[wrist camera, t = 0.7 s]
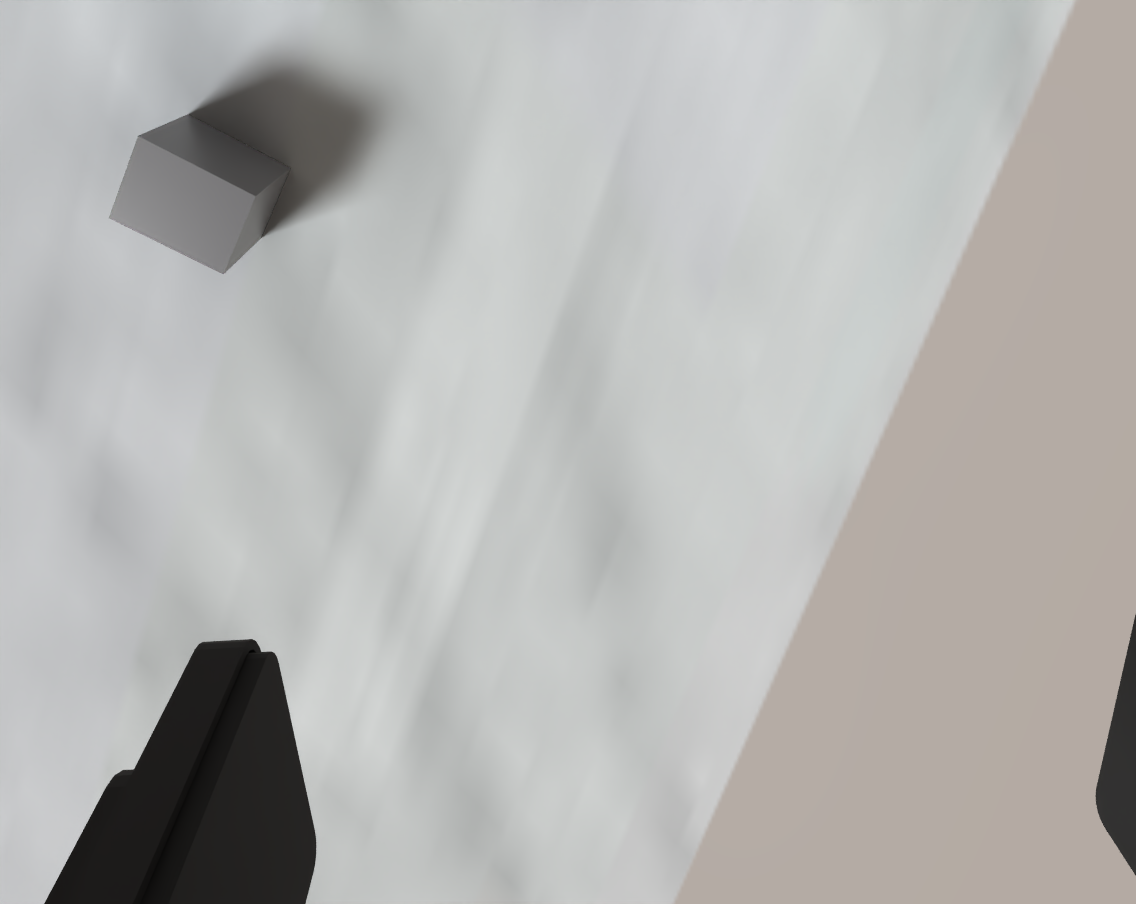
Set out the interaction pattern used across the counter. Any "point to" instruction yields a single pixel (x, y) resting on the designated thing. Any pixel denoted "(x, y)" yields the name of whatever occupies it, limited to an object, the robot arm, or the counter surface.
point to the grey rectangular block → (198, 192)
